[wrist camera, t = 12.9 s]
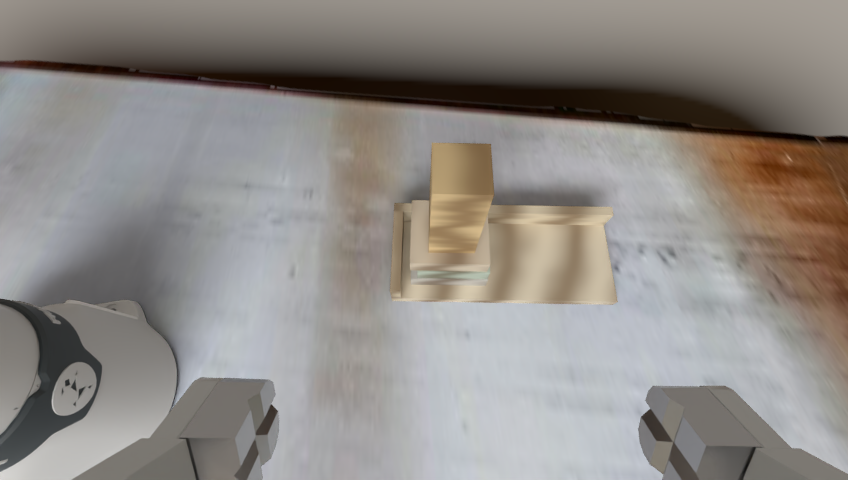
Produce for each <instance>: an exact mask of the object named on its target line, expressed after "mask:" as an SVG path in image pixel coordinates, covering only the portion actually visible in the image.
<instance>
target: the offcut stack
mask: <svg viewBox="0 0 848 480" xmlns="http://www.w3.org/2000/svg"><path fill="white" fill-rule="evenodd" d="M428 246H429V200H412V209H411V242H410V270H411V285H463V286H485V285H486V283H487V281H488V276H489V274H490V247H489V229H488V215H487V218H486V221H485V224H484V227H483V230H482V233H481V236H480V239H479V242H478V245H477V248H476V251H475V253H428Z"/></svg>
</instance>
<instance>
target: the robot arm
mask: <svg viewBox="0 0 848 480" xmlns="http://www.w3.org/2000/svg"><path fill="white" fill-rule="evenodd" d="M176 385H177V368H176V362H175V358H174V355H173V353H172V350H171V348H170V347H169V345H168V343H167V342H166V341H165V339H164V338H163V337H162V336H161V335H160V334H159V333H158V332H156V331H155V330H154V329H153V328H152V327H151V326H150V325H149V324H148V323H147V321H146V318H145V315H144V312H143V310H142V308H141V306H140V305H139V304H138V303H137V302H135V301H131V300H119V301H113V302H107V303H101V304H95V305H92V304H88V303H84V302H81V301H76V300H67V301H66V302H65V303H60V304H53V305H48V306H43V307H39V306H36V305H33V304H29V303H25V302H20V301H13V300H12V301H10V300H5V299H0V480H262V479H263V476H262V470H261V466H262V465H263V464H265V463H266V462H267V461H268V460H269V459H271V457H272V454H273V452H274V449H275V447H276V443H277V438H278V433H279V415H278V411H277V410H276V409H275V408H274V407H273V406H272V405H271V403H272V401H273V399H274V397H275V395H276V394H275V389H274V384H273V382H272V381H271V380H265V379H240V378H204V377H201V378H199V379H197V380H195V381H194V382H193V383H192V384H191V386H190V387H189V388H188V389H187V391H186V392H185V393H184V395H183V396H182V397H181V398H180V400H179V401H178V402H177V403H176V405H175V406H174V407H173V409H172V410H171V411H170V408H171V406H172V403H173V400H174V396H175V391H176ZM645 401H646V402H647V404H648V406H649V407H650V409H649V410H648V411H647V412H646V413H645V414H644V415H643V416H641V419H640V424H639V428H638V431H639V440H640V444H641V447H642V450H643V453H644V455H645V457H646V458H647V460H648V462H649V464H650V465H652V466H653V467H654V468H656V469H657V470H658V471H660V472H661V473H662V474H663V478H662V480H848V474H847V473H845V472H843V471H841V470H839V469H837V468H835V467H834V466H832V465H830V464H828V463H826V462H824V461H822V460H820V459H819V458H817V457H815V456H813V455H811V454H809V453H807V452H806V451H804V450H802V449H794V448H791V447H790V446H789V445H788V444H787V443H786V442H785V441H784V440H783V439H782V438H781V437H780V436H779V435H778V434H777V433H776V432H775V431H774V430H773V429H772V428H771V427H770V426H769V425H768V424H767V423H766V422H765V421H764V420H763V419H762V418H761V417H760V416H759V415H758V414H757V413H756V412H755V411H754V410H753V409H752V408H751V407H750V406H749V405H748V404H747V403H746V402H745V401H744V400H743V399H742V398H741V397H740V396H739V395H738V394H737V393H736V392H735V391H734V390H732V389H730V388H728V387H726V386H699V387H698V386H652V387H651V389H650V390H649V391H648V394H647V397H646V400H645ZM169 411H170V412H169ZM168 413H169V414H168Z"/></svg>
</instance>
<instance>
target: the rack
mask: <svg viewBox="0 0 848 480" xmlns="http://www.w3.org/2000/svg"><path fill="white" fill-rule="evenodd" d="M411 209H412V203H395V204H394V224H393V244H392V264H391V284H390V292H391V297H392V301H430V302H489V303H548V304H608V305H613V304H614V303H616V302H618V301H617V296H616V290H615V285H614V279H613V274H612V269H611V263H610V258H609V252H608V247H607V241H606V236H605V230H604V225H605V223H606V222H607V221H608V220H609V219H610V218H611V217H612V216H613V210H612V207H583V206H527V205H491V206H490V209H489V212H488V229H489V247H490V274H489V276H488V281H487V283H486V285H485V286H463V285H411V270H410V242H411Z"/></svg>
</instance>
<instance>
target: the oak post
mask: <svg viewBox="0 0 848 480" xmlns="http://www.w3.org/2000/svg"><path fill="white" fill-rule="evenodd" d="M493 197H494V186H493V171H492V155H491V144H470V143H432V153H431V175H430V197H429V246H428V253H475V251H476V248H477V245H478V242H479V239H480V236H481V233H482V230H483V227H484V224H485V221H486V218H487V215H488V212H489V209H490V206H491V203H492V200H493Z"/></svg>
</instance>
